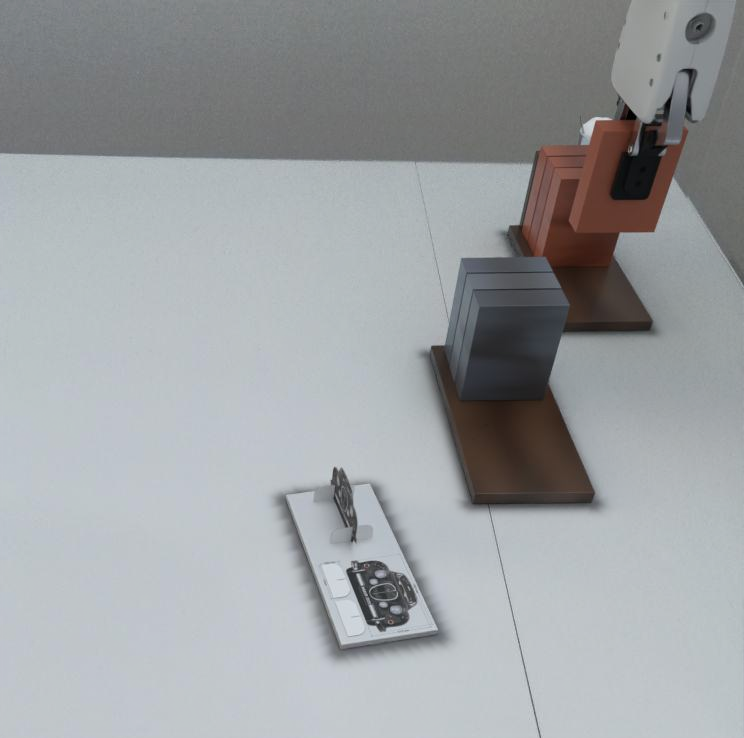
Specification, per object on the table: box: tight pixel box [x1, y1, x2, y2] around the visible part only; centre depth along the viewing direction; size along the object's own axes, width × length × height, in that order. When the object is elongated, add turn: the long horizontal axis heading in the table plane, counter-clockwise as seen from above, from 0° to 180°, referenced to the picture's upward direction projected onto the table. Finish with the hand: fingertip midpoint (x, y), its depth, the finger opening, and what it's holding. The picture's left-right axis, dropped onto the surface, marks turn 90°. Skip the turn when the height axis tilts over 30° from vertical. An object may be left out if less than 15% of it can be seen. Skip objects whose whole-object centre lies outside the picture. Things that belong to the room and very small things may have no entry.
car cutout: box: [285, 466, 439, 650], centre depth 68 cm, size 15×7×4 cm, turn 11°
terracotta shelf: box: [507, 144, 654, 332], centre depth 94 cm, size 9×19×10 cm, turn 0°
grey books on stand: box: [429, 256, 596, 504], centre depth 78 cm, size 9×20×10 cm, turn 0°
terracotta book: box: [569, 119, 689, 234], centre depth 84 cm, size 7×2×9 cm, turn 90°
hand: (623, 188), depth 85 cm, fingers closed on terracotta book, 2 cm apart
